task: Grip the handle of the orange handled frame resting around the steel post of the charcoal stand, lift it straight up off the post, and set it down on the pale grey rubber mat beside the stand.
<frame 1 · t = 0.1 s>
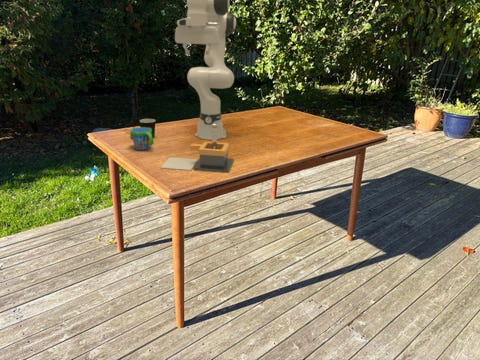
hand: (197, 54, 171), 48 cm above the table, tool pointing down, fingers open, 8 cm apart
orange handled frame: (214, 151, 172), point 7 cm above the table, touching stand
mat: (179, 164, 174), on the table
coffee mug: (146, 138, 211), on the table
stand: (214, 165, 174), on the table
snack cup: (142, 149, 193), on the table
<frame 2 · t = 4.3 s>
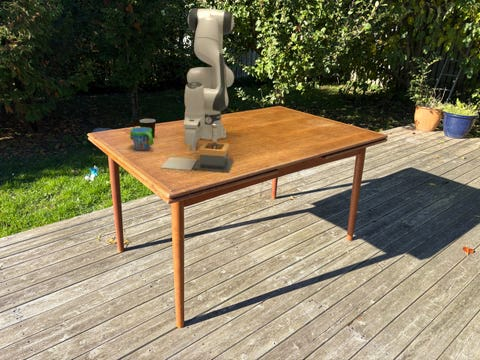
hand: (195, 149, 172), 7 cm above the table, tool pointing down, fingers closed on orange handled frame, 3 cm apart
orange handled frame: (214, 151, 172), point 7 cm above the table, touching gripper, stand
everything else where it was.
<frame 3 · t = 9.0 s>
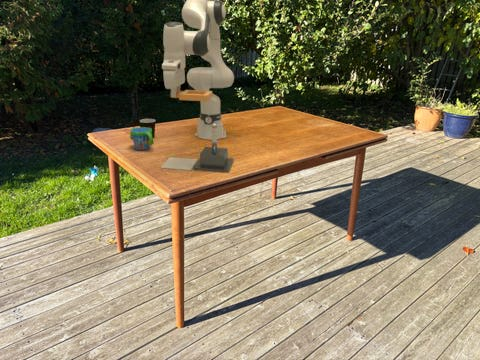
hand: (175, 96, 163), 31 cm above the table, tool pointing down, fingers closed on orange handled frame, 3 cm apart
orange handled frame: (196, 98, 162), point 31 cm above the table, touching gripper
everything else where it was.
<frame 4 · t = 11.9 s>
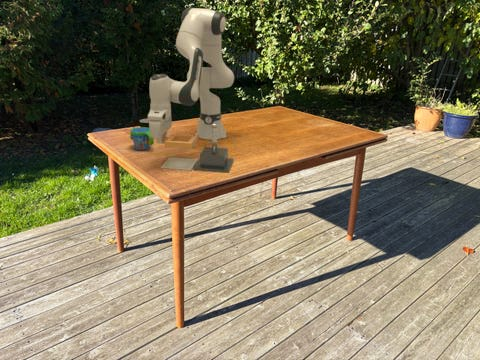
hand: (162, 142, 171), 10 cm above the table, tool pointing down, fingers closed on orange handled frame, 3 cm apart
orange handled frame: (181, 143, 170), point 10 cm above the table, touching gripper
everything else where it was.
when the fingers open (2 cm above the table, at t = 14.2 s): orange handled frame drops 2 cm, resting on mat.
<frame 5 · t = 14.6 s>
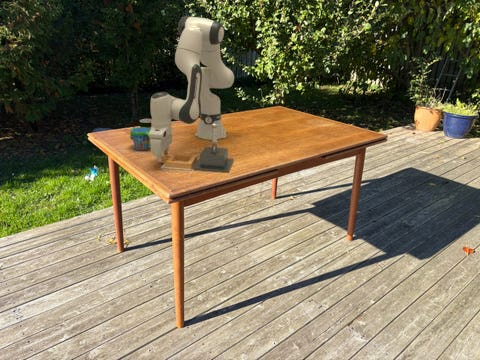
hand: (163, 157, 174), 2 cm above the table, tool pointing down, fingers open, 7 cm apart
orange handled frame: (181, 163, 174), resting on mat
everything else where it was.
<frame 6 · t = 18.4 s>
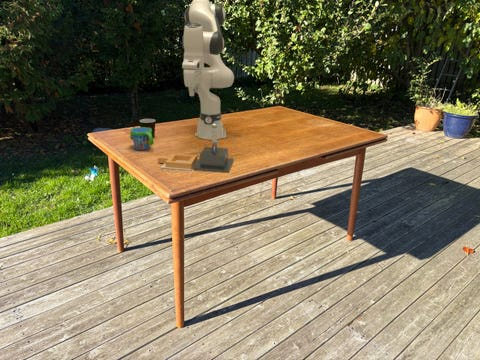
hand: (194, 94, 170), 31 cm above the table, tool pointing down, fingers open, 8 cm apart
nothing on the table moved.
at the end: orange handled frame inside the target area (0.5 cm from its centre), point 0.5 cm above the table; orange handled frame tilted 0°; the gripper is holding nothing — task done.
